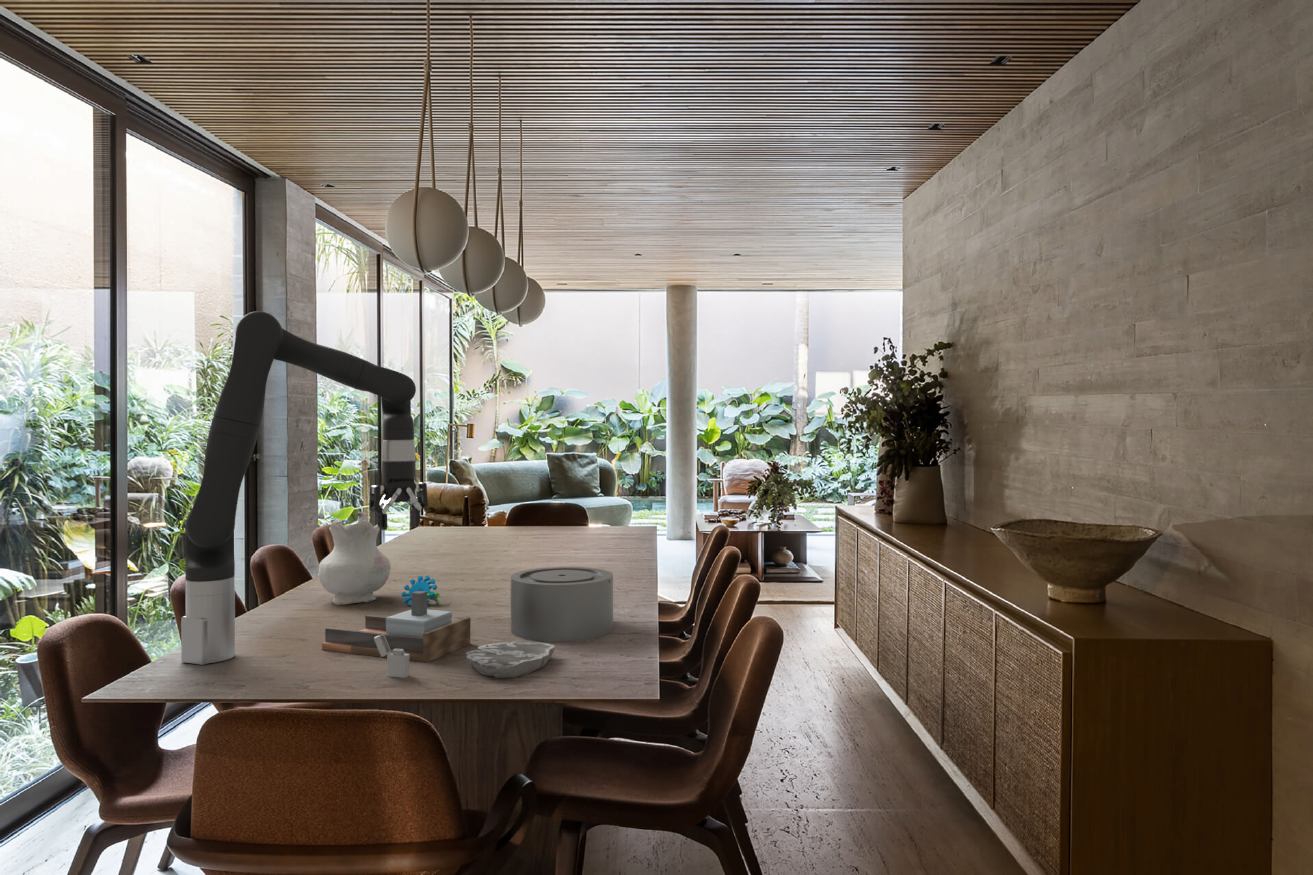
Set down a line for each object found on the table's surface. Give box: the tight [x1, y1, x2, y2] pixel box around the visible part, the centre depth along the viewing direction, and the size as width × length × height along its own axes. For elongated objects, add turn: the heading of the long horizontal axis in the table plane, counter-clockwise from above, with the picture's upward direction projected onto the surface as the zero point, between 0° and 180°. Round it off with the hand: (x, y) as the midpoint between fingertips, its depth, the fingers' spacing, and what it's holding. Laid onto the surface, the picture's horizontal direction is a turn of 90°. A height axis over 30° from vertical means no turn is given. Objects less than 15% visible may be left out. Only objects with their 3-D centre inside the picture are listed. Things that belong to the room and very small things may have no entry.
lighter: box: [374, 634, 411, 679], centre depth 161 cm, size 7×2×8 cm, turn 75°
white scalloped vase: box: [318, 510, 392, 606], centre depth 234 cm, size 22×20×25 cm
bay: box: [321, 614, 471, 663], centre depth 183 cm, size 16×28×6 cm, turn 69°
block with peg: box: [385, 591, 453, 638], centre depth 181 cm, size 10×10×11 cm
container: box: [510, 566, 614, 643], centre depth 199 cm, size 25×25×13 cm
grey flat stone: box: [464, 640, 555, 679], centre depth 168 cm, size 20×17×3 cm
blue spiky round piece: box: [401, 575, 440, 607], centre depth 229 cm, size 11×6×10 cm
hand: (399, 527), depth 191 cm, fingers open, 8 cm apart
